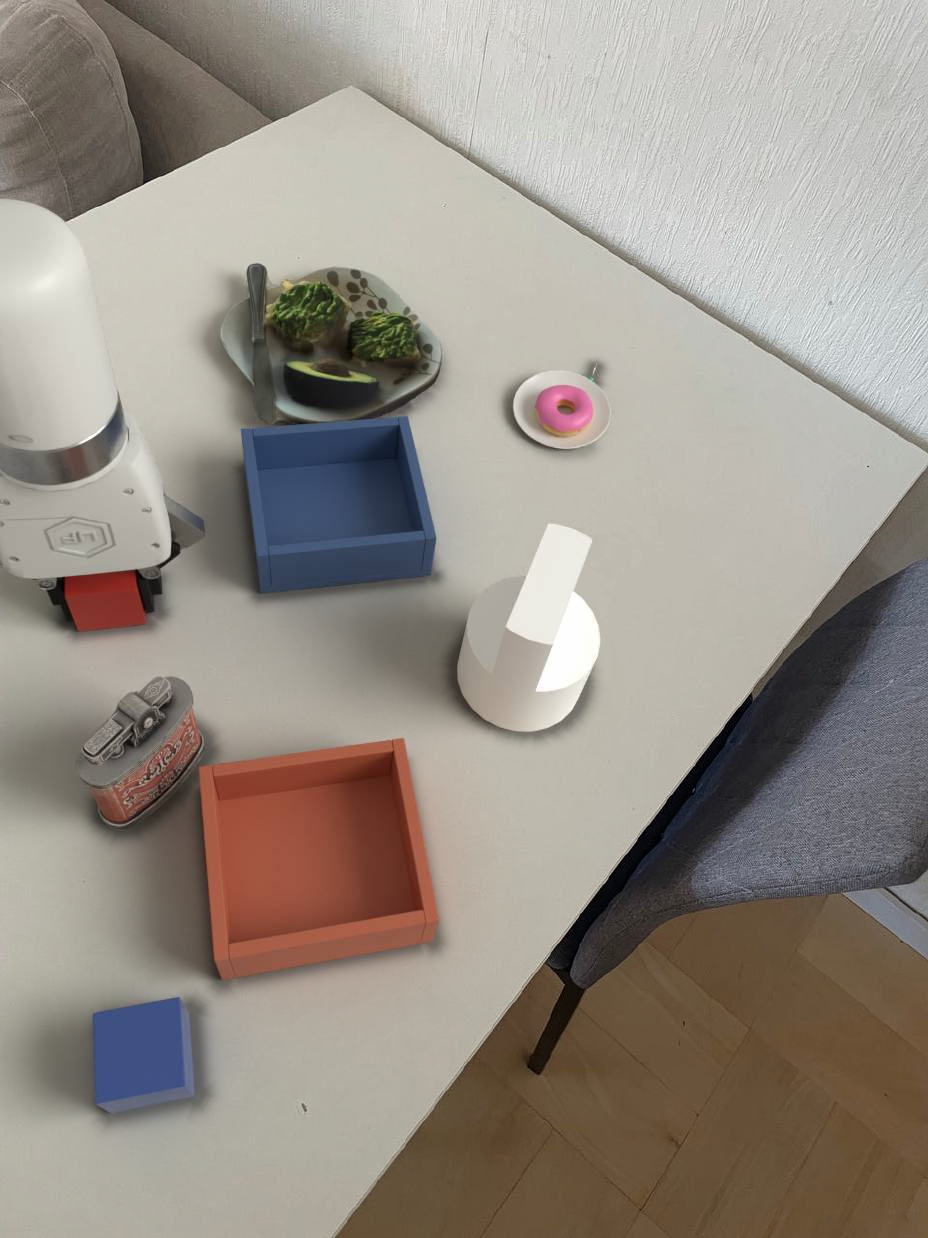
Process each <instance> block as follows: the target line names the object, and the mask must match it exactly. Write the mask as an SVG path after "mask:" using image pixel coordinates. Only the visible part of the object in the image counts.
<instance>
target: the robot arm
mask: <svg viewBox="0 0 928 1238" xmlns="http://www.w3.org/2000/svg"><path fill="white" fill-rule="evenodd" d="M122 405H123V404H122V401H121V396H120V392H119V389H118V384H117V379H116V375H115V371H114V367H113V363H112V358H111V354H110V350H109V346H108V342H107V338H106V333H105V329H104V325H103V321H102V316H101V312H100V308H99V304H98V299H97V295H96V291H95V287H94V282H93V277H92V274H91V268H90V265H89V261H88V258H87V255H86V252H85V248H84V246H83V244H82V242H81V240H80V238H79V237H78V235H77V234H76V232H75V231H74V230H73V228H72V227H71V226H70V225H69V224H68V223H67V222H66V221H65V220H64V219H63V218H62V217H60V216H59V215H57V214H56V213H54V212H53V211H51V210H49V209H48V208H46V207H43V206H41V205H38V204H37V203H33V202H28V201H25V200H19V199H11V198H0V567H2V566H3V567H4V568H5V570H6V571H7V572H8V573H9V574H11V575H13V576H15V577H18V578H22V579H31V580H34V581H36V587H37V588H38V589H41V590H45V591H46V592H47V594H48V597H49V600H50V603H51V605H52V606H53V607H54V606H60V608H61V611H62V613H63V616H64V618H65V621H66V622H75V621H74V619H73V616H72V614H71V611H70V608H69V606H68V603H67V601H66V598H65V577H66V576H77V575H87V574H97V573H107V572H116V571H125V570H134V569H136V581H137V587H138V590H139V594H140V598H141V601H142V605H143V608H144V611H145V613H147V614H151V613H155V596H159V595H163V582H162V575H161V574H162V573H161V569H162V568H163V567H165V566H166V565H167V564H169V563H170V562H171V561H173V560H174V559H176V558H177V557H178V556H180V554H181V550H183V549H188V548H190V547H191V546H192V547H193V545H195V544H197V543H199V542H201V541H202V540H204V539H206V530H205V529H206V527H205V520H204V519H203V518H202V517H201V516H199V515H198V514H197V513H194V512H192V510H189V509H188V508H187V507H185V506H183V505H182V504H180V503H178V502H177V501H175V500H174V499H172V498H171V497H169V496H167V494H166V489H165V486H164V483H163V479H162V475H161V472H160V470H159V467H158V465H157V461H156V458H155V456H154V454H153V451H152V448H151V446H150V443H149V442H148V440H147V438H146V435H145V434H144V432H143V430H142V428H141V426H140V425H139V423H138V421H137V420H136V419H135V416H134V415H133V414H132V413H131V412H130V411H129V410H128V409H126V408H123V406H122Z"/></svg>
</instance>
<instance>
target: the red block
mask: <svg viewBox="0 0 928 1238" xmlns="http://www.w3.org/2000/svg"><path fill="white" fill-rule="evenodd" d="M65 598H66V601H67V603H68V606H69V608H70V611H71V614H72V616H73V619H74V621H73V622H74V625H75V626H76V629H77V631H78V632H79V633H80V632H87V631H96V630H107V629H113V628H114V629H115V628H124V627H132V626H133V627H134V626H142V625H146V624H147V619H146V611H144V608H143V605H142V601H141V598H140V594H139V590H138V587H137V581H136V569H134V570H125V571H116V572H107V573H97V574H87V575H77V576H66V577H65Z"/></svg>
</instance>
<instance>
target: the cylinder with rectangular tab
mask: <svg viewBox="0 0 928 1238" xmlns="http://www.w3.org/2000/svg"><path fill="white" fill-rule="evenodd" d="M592 543H593V539H592V538H591V537H590V536H589V535H587V534H585V533H583V532H580V531H578V530H576V529H574V528H572V527H568V526H566V525H560V524H556V523H547V526H546V528H545V530H544V533H543V535H542V538H541V541H540V542H539V545H538V548H537V550H536V552H535V555H534V557H533V560H532V562H531V565H530V567H529V570H528V572H527V574H526V575H517V576H512V577H507V578H503V579H501V580H499V581H497V582H494V583H493V584H490V585H489V586H488V587H487V588H485V589H484V590H483V591H482V592H481V593H480V594H478V595H477V598H476V599H475V601H474V602H473V603H472V605H471V607H470V609H469V613H468V617H467V621H466V625H465V629H464V634H463V638H462V643H461V648H460V652H459V656H458V659H457V660H458V661H457V665H456V671H457V672H456V673H457V683H458V686H459V689H460V692H461V694H462V697H463V698H464V699H465V700H466V702H467V704H468V706H469V707H470V708H471V709H472V710H473V711H474V712H475V713H476V714H478V715H479V716H480V718H482V719H483V720H485V721H486V722H488V723H490V724H492V725H494V726H496V727H497V728H500V729H504V730H509V731H512V732H524V733H525V732H528V733H529V732H531V733H532V732H537V731H541V730H544V729H549V728H551V727H552V726H554V725H556V724H558V723H560V722H561V721H563V720H564V719H565V718H566V717H567V716H568V715H569V714H570V713H571V712H572V711H573V710H574V708H575V705H576V704H577V701H578V700H579V698H580V696H581V694H582V691H583V690H584V687H585V685H586V683H587V680H588V678H589V676H590V674H591V672H592V669H593V668H594V666H595V663H596V661H597V658H598V656H599V652H600V646H601V634H600V625H599V623H598V621H597V619H596V616H595V614H594V612H593V610H592V609H591V608H590V606H589V605H588V604H587V602H586V601H585V600H584V598H583V597H581V596H580V595H579V594H577V593H576V592H575V589H576V586H577V583H578V580H579V578H580V576H581V572H582V570H583V566H584V565H585V562H586V560H587V556H588V553H589V551H590V548H591V546H592Z"/></svg>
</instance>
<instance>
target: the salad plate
mask: <svg viewBox="0 0 928 1238" xmlns="http://www.w3.org/2000/svg"><path fill="white" fill-rule="evenodd" d="M246 283H247V295H246V297H245V298H243V299H241V300H240V301H238V302H237V303H235V304H234V305H233V306H232V307H231V308H230V309H229V310H228V312H226V315H225V317H224V319H223V321H222V324H221V327H220V334H219V336H220V341H221V344H222V346H223V348H224V350H225V351H226V353H227V355H228V356H229V359H230V360H231V361H232V362H233V363H234V365H235V367H237V368H238V370H240V372H241V373H242V374H243V376H244V377H245V378H246V379H247V380H248V381H249V383H250V384H251V385H252V386H253V389H252V391H251V392H252V399H253V404H254V409H255V411H256V415H257V417H258V418H259V419H260V420H262V421H264V422H265V423H266V424H268V425H269V426H272V425H273V424H274V423H276V422H287V423H292V424H294V425H299V424H312V423H325V422H338V421H351V420H365V419H377V418H380V417H381V416H382V417H383V416H384V415H386V414H390V413H392V412H394V411H396V410H398V409H400V408H402V407H403V406H406V405H407V404H408V403H409V402H411V401H412V400H414V399H416V398H417V397H418V396H420V395H421V394H422V393H424V392H425V391H427V390H428V389H429V388H431V387H432V386H433V385H434V384H435V383H436V381H437V380H438V376H439V375H440V371H441V368H442V359H443V358H442V357H443V354H442V353H443V351H442V350H443V349H442V348H443V347H442V344H441V341H440V340H439V338H438V336H437V334H436V333H435V331H433V329H431V327H430V326H429V325H428V324H427V323H426V322H425V321H424V320H423V319H422V318H421V317H420V316H419V315H418V314H417V313H416V312H415V311H414V310H413V309H412V308H411V306H409V305H408V304H407V303H406V302H405V300H403V299H402V297H401V295H400V294H398V293H397V292H396V291H395V290H394V289H393V288H392V287H391V286H390V285H389V284H387V283H386V282H385V280H383V279H382V278H381V277H380V276H378V275H376V274H374V273H372V272H369V271H367V270H363V269H359V268H353V267H347V266H330V267H325V268H321V269H318V270H315V271H312V272H310V273H308V274H305V275H303V276H300V277H298V278H296V279H293V280H289V279H287V278H286V279H284V280H283V281H282V282H281V284H274V283H272V282H271V280H270V278H269V271H268V269H267V267H266V266H265V265H264V264H261V263H259V262H255V263H251V264H249V265H248V266H247V268H246Z"/></svg>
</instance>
